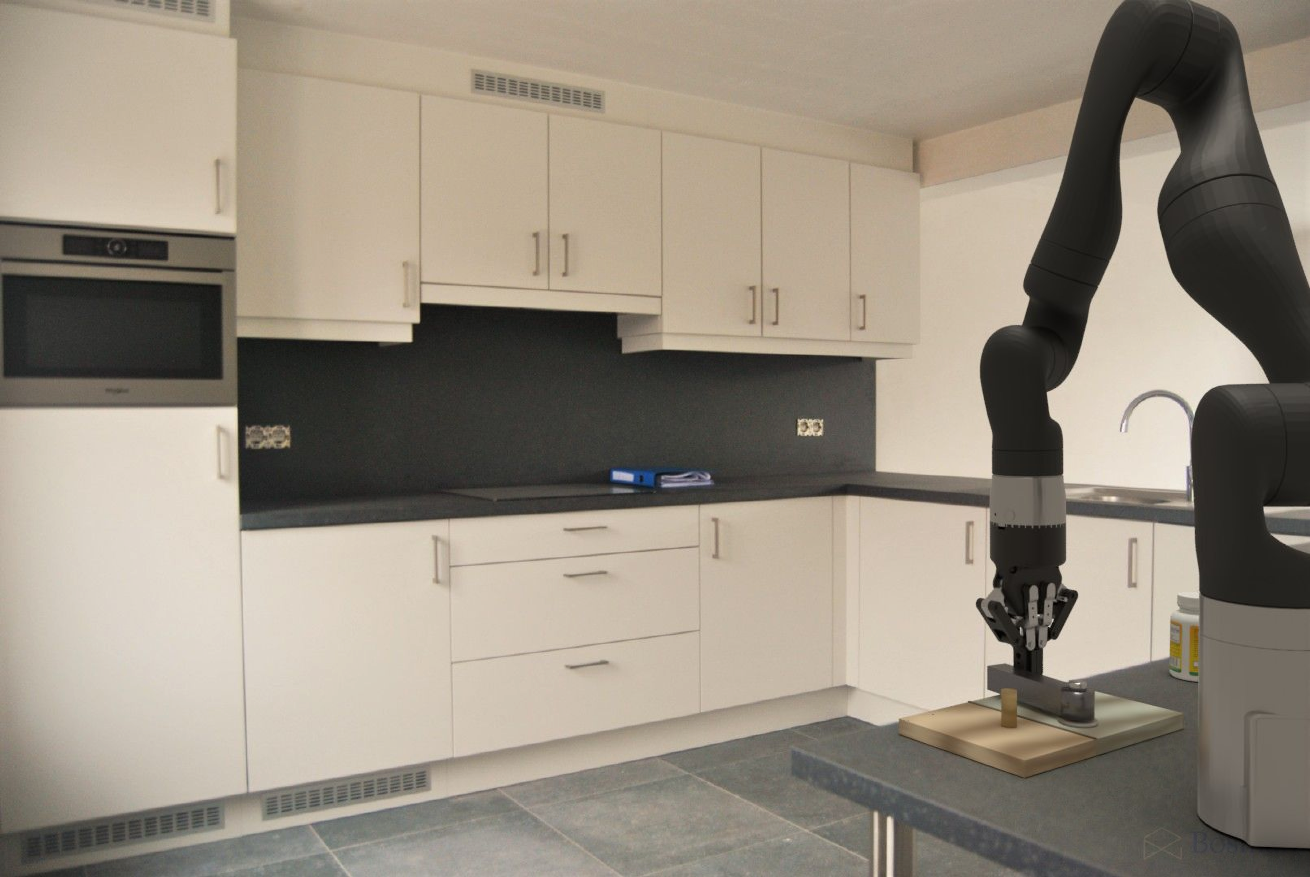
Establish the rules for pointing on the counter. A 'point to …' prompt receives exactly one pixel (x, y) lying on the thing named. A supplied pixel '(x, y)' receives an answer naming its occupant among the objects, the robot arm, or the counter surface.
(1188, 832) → the counter surface
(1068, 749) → the lock plate
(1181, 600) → the supplement bottle
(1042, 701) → the lock bar
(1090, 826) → the counter surface
